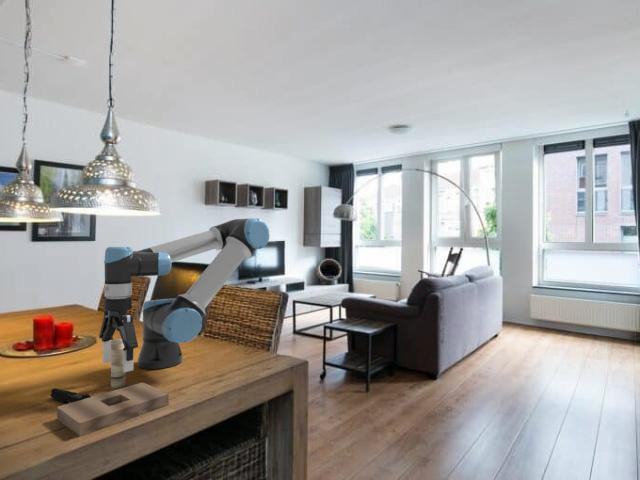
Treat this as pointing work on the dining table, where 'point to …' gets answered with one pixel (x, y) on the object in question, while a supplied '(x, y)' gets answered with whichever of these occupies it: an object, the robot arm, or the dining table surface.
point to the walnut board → (111, 408)
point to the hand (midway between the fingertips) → (117, 366)
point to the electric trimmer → (67, 396)
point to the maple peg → (117, 364)
